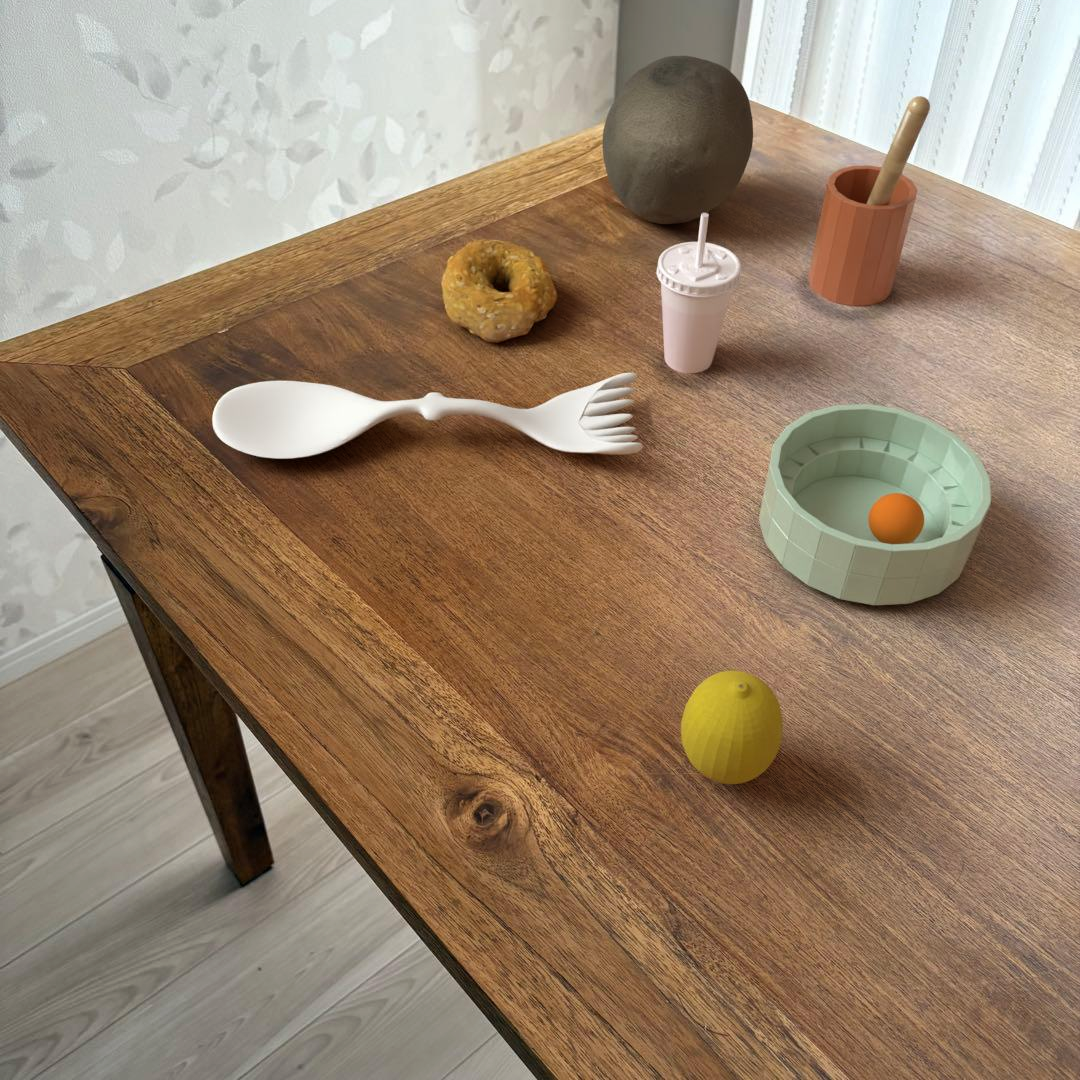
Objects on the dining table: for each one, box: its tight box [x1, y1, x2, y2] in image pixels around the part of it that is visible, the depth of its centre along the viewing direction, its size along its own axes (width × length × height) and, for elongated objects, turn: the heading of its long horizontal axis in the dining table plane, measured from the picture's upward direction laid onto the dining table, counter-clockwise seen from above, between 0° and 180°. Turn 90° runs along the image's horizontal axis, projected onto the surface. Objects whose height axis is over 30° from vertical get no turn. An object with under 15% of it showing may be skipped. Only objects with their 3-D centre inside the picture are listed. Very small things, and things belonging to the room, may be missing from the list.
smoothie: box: [656, 213, 742, 374], centre depth 86 cm, size 6×6×14 cm
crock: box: [807, 164, 918, 307], centre depth 95 cm, size 7×7×10 cm
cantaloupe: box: [602, 55, 754, 225], centre depth 102 cm, size 14×14×15 cm
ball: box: [868, 493, 924, 544], centre depth 75 cm, size 4×4×4 cm
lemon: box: [680, 670, 784, 785], centre depth 62 cm, size 6×6×8 cm
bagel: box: [440, 238, 558, 344], centre depth 95 cm, size 10×11×5 cm
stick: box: [867, 95, 931, 206], centre depth 90 cm, size 2×2×20 cm
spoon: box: [211, 372, 644, 460], centre depth 84 cm, size 9×32×4 cm, turn 89°
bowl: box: [758, 403, 992, 606], centre depth 75 cm, size 14×14×6 cm
